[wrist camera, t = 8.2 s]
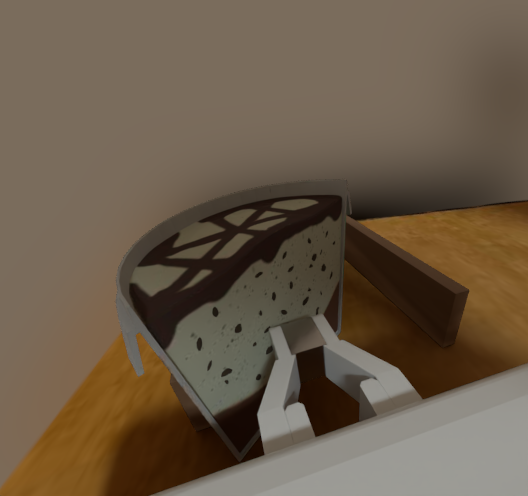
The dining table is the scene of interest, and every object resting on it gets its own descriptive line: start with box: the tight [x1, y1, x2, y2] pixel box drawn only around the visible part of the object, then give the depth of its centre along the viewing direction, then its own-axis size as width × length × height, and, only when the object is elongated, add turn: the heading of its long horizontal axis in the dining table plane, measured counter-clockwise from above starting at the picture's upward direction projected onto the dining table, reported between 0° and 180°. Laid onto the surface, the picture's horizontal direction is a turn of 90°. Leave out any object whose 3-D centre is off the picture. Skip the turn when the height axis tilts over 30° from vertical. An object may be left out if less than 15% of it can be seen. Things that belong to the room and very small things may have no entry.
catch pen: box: [170, 215, 469, 431], centre depth 19 cm, size 15×14×4 cm
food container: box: [116, 179, 352, 462], centre depth 14 cm, size 12×6×10 cm, turn 137°
